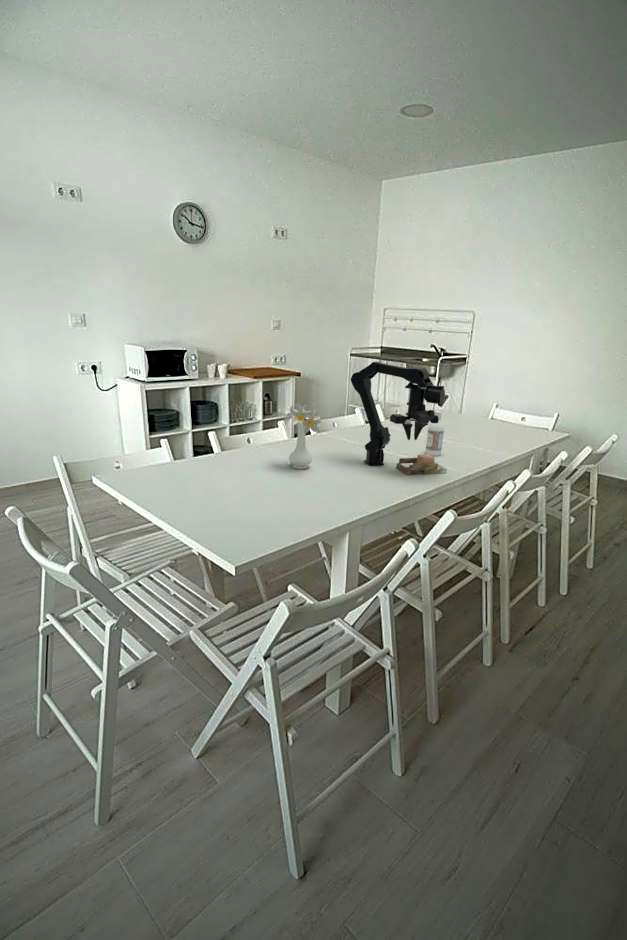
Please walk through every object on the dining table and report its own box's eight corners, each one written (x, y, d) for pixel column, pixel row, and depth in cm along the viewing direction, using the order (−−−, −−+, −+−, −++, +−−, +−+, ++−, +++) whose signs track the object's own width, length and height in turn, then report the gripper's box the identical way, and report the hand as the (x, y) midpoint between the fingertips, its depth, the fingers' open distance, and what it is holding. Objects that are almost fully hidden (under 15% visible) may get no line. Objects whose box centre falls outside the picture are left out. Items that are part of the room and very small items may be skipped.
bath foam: (422, 452, 225) (427, 410, 219) (433, 451, 228) (439, 409, 222) (431, 456, 219) (437, 413, 213) (443, 455, 222) (449, 412, 216)
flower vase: (300, 476, 184) (302, 410, 176) (276, 463, 198) (278, 402, 190) (328, 471, 190) (332, 408, 183) (303, 459, 205) (305, 400, 197)
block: (422, 467, 195) (423, 458, 193) (416, 464, 199) (417, 454, 198) (433, 467, 196) (434, 457, 195) (427, 463, 201) (428, 454, 199)
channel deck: (407, 475, 191) (408, 465, 190) (396, 467, 200) (397, 458, 199) (446, 473, 196) (447, 463, 195) (433, 465, 205) (434, 456, 204)
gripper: (404, 404, 178) (400, 445, 182) (448, 404, 183) (443, 444, 188) (391, 399, 188) (387, 438, 192) (433, 399, 193) (428, 437, 198)
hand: (412, 440), depth 192 cm, fingers open, 3 cm apart
